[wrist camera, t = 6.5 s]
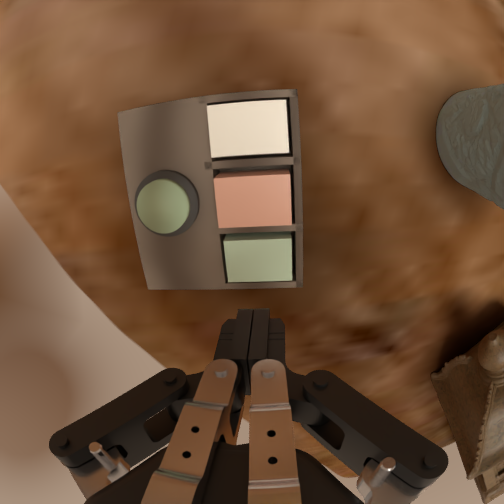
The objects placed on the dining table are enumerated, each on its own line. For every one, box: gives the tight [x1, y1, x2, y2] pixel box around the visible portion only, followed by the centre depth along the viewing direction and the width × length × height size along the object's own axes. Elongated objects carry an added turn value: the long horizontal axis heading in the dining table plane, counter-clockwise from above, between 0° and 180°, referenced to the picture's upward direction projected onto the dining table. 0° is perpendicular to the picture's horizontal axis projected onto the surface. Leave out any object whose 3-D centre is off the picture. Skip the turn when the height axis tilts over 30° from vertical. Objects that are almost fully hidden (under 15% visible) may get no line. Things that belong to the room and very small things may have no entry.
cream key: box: [207, 100, 289, 158], centre depth 18 cm, size 5×3×2 cm
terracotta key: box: [214, 169, 292, 228], centre depth 19 cm, size 5×3×2 cm
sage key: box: [223, 231, 292, 282], centre depth 22 cm, size 5×3×2 cm
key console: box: [118, 89, 303, 290], centre depth 21 cm, size 12×14×4 cm
